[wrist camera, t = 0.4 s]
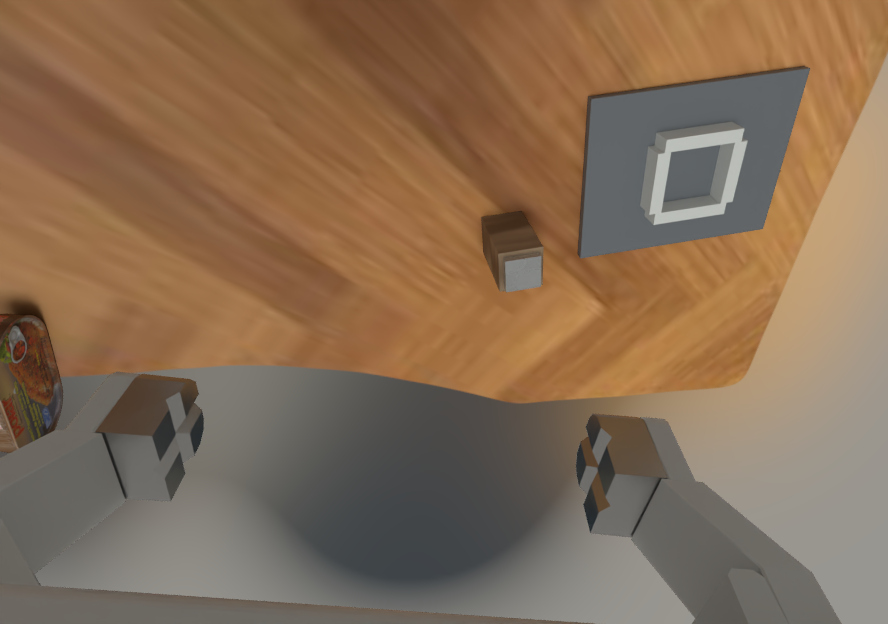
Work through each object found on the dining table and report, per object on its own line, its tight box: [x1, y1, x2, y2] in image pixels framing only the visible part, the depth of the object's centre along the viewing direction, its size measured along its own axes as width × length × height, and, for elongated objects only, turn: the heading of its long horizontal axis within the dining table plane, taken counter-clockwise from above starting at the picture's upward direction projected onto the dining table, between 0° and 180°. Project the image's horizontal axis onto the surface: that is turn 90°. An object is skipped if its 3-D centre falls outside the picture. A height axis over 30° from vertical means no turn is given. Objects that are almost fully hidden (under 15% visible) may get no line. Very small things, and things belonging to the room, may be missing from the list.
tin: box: [0, 314, 63, 453], centre depth 51 cm, size 15×3×8 cm, turn 168°
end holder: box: [578, 66, 810, 258], centre depth 51 cm, size 16×20×3 cm
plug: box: [481, 211, 543, 292], centre depth 50 cm, size 4×4×8 cm
